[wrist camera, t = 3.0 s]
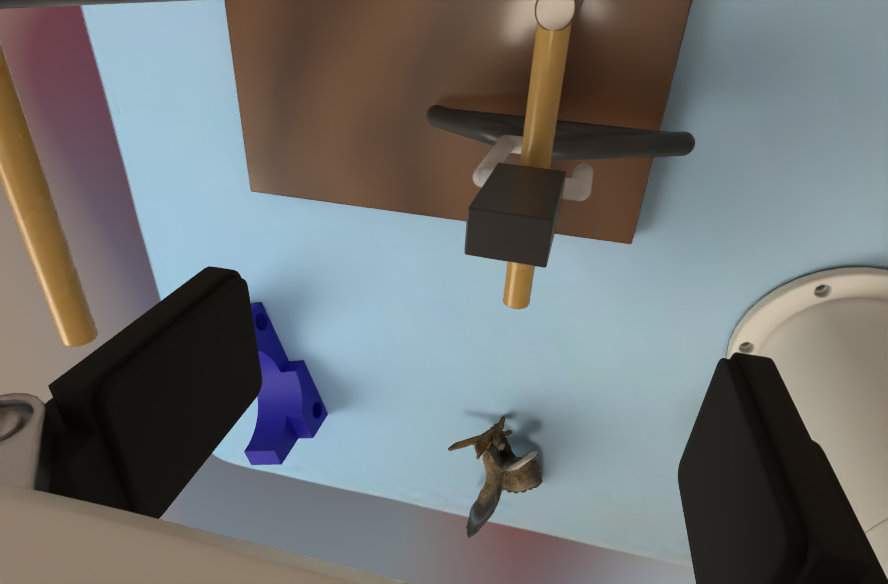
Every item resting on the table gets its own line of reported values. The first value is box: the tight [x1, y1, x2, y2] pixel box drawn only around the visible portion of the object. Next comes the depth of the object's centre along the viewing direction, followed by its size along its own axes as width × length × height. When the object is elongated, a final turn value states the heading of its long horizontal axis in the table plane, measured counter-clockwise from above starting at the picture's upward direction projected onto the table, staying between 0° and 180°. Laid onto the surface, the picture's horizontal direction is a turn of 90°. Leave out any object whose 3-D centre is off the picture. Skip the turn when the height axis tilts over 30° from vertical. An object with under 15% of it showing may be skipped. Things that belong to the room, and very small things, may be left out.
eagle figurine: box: [448, 416, 542, 538], centre depth 44 cm, size 8×7×9 cm
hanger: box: [426, 105, 695, 267], centre depth 23 cm, size 14×2×15 cm, turn 87°
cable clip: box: [244, 302, 328, 465], centre depth 45 cm, size 12×4×6 cm, turn 15°
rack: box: [0, 0, 692, 347], centre depth 24 cm, size 26×14×21 cm, turn 87°
